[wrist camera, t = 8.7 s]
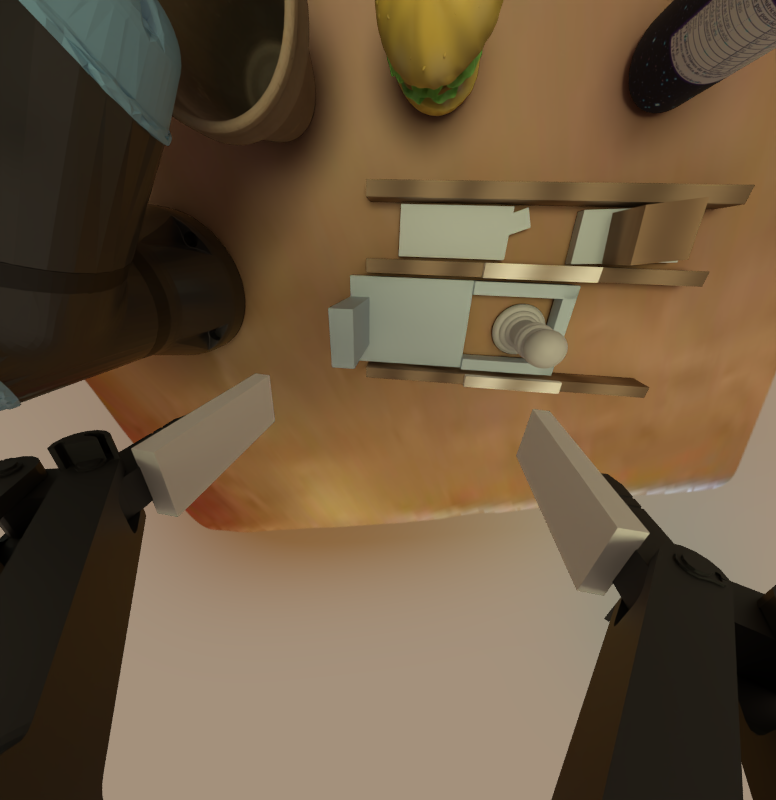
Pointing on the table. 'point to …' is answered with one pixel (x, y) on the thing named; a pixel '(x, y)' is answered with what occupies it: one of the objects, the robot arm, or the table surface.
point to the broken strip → (491, 232)
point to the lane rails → (537, 195)
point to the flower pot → (243, 68)
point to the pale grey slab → (429, 321)
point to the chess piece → (529, 336)
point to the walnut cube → (654, 232)
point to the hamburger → (435, 47)
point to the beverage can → (698, 48)
